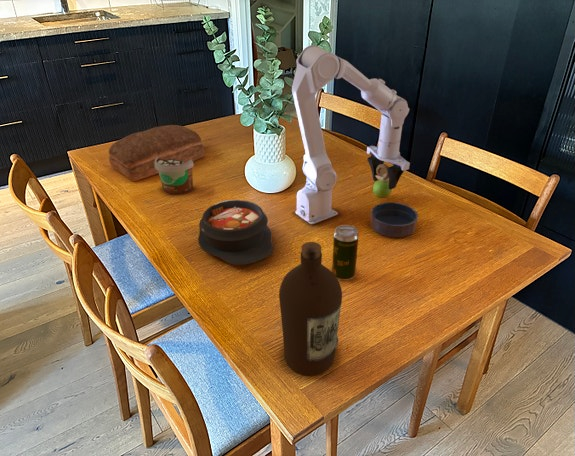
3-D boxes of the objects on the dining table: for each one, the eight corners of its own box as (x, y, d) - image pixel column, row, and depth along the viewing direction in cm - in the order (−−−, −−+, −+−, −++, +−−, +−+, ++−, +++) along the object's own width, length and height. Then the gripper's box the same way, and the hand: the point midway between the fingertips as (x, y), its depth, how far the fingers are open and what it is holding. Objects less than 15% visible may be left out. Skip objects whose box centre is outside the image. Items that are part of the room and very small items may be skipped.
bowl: (392, 244, 116) (394, 231, 113) (360, 223, 124) (361, 210, 122) (425, 229, 121) (427, 216, 119) (392, 210, 130) (394, 198, 127)
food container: (151, 194, 140) (145, 164, 134) (161, 185, 145) (155, 155, 139) (189, 198, 137) (184, 168, 132) (197, 188, 142) (193, 159, 137)
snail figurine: (388, 204, 131) (393, 165, 124) (368, 198, 134) (372, 160, 128) (397, 196, 134) (401, 159, 128) (377, 191, 138) (381, 153, 131)
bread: (108, 168, 156) (100, 136, 149) (182, 144, 172) (178, 114, 166) (132, 184, 145) (124, 151, 139) (208, 157, 162) (205, 126, 156)
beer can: (352, 266, 108) (355, 223, 102) (357, 280, 104) (361, 237, 97) (329, 267, 108) (331, 225, 101) (334, 282, 103) (336, 238, 97)
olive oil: (270, 351, 87) (264, 242, 73) (314, 327, 92) (316, 221, 78) (303, 389, 79) (304, 276, 66) (349, 361, 84) (359, 251, 71)
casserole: (184, 229, 123) (179, 202, 118) (246, 211, 130) (245, 184, 126) (221, 281, 104) (217, 251, 100) (291, 255, 112) (291, 227, 108)
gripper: (420, 144, 121) (413, 189, 129) (381, 128, 131) (376, 171, 139) (401, 150, 118) (395, 197, 125) (363, 134, 128) (359, 177, 135)
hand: (384, 184), depth 132 cm, fingers closed on snail figurine, 6 cm apart
